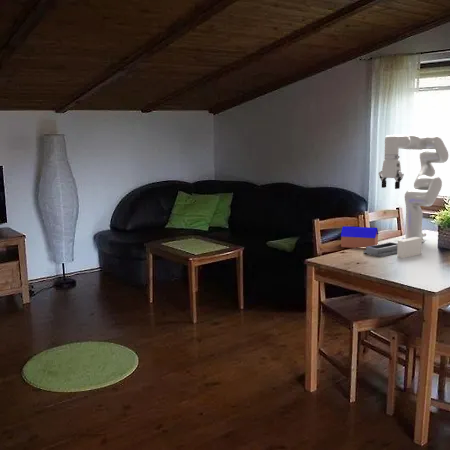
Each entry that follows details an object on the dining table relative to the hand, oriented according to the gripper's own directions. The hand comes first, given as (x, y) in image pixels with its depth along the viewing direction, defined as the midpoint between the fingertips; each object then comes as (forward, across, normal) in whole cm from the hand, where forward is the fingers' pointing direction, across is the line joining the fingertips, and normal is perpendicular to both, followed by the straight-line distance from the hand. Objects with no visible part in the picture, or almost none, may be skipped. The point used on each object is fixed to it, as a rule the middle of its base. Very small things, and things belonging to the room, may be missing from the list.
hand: (390, 188), depth 310 cm
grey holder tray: (+35, -6, +11) cm, 37 cm away
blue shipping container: (+35, +15, +8) cm, 39 cm away
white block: (+35, -19, +5) cm, 40 cm away
